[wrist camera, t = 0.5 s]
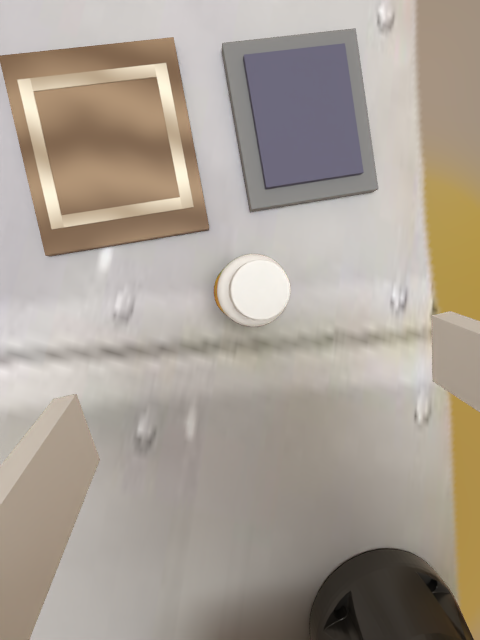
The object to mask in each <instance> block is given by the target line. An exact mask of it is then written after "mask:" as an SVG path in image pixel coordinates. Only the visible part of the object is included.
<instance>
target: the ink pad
mask: <svg viewBox="0 0 480 640" xmlns="http://www.w3.org/2000/svg"><path fill="white" fill-rule="evenodd" d="M222 56H223V61H224V67H225V73H226V78H227V84H228V90H229V95H230V101H231V107H232V112H233V118H234V124H235V129H236V135H237V141H238V146H239V152H240V158H241V163H242V169H243V175H244V180H245V186H246V192H247V198H248V203H249V209H250V212H253V211H259V210H265V209H272V208H278V207H284V206H290V205H296V204H303V203H309V202H315V201H321V200H327V199H333V198H340V197H346V196H352V195H358V194H364V193H370V192H374V191H376V190H377V189H378V183H377V176H376V169H375V162H374V155H373V148H372V141H371V134H370V127H369V120H368V113H367V106H366V98H365V91H364V84H363V77H362V70H361V63H360V56H359V49H358V42H357V35H356V28H355V29H346V30H337V31H328V32H318V33H309V34H300V35H291V36H282V37H273V38H264V39H254V40H245V41H236V42H227V43H222Z"/></svg>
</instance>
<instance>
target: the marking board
mask: <svg viewBox="0 0 480 640" xmlns="http://www.w3.org/2000/svg"><path fill="white" fill-rule="evenodd" d="M0 63H1V67H2V72H3V76H4V80H5V84H6V89H7V93H8V97H9V102H10V106H11V110H12V114H13V119H14V123H15V127H16V131H17V136H18V140H19V144H20V149H21V153H22V157H23V161H24V166H25V170H26V174H27V179H28V183H29V187H30V191H31V196H32V200H33V204H34V209H35V213H36V217H37V221H38V226H39V230H40V234H41V239H42V243H43V247H44V251H45V255H46V256H55V255H61V254H67V253H73V252H79V251H85V250H91V249H98V248H104V247H110V246H116V245H122V244H128V243H134V242H140V241H146V240H152V239H158V238H164V237H170V236H176V235H182V234H188V233H194V232H200V231H206V230H209V224H208V219H207V213H206V208H205V203H204V197H203V192H202V187H201V181H200V176H199V171H198V166H197V160H196V155H195V150H194V144H193V139H192V134H191V128H190V123H189V118H188V112H187V107H186V102H185V96H184V91H183V86H182V80H181V75H180V70H179V64H178V59H177V54H176V49H175V43H174V38H173V37H172V38H162V39H153V40H143V41H134V42H124V43H115V44H106V45H96V46H87V47H77V48H68V49H59V50H49V51H40V52H30V53H21V54H11V55H2V56H0Z"/></svg>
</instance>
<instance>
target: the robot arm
mask: <svg viewBox="0 0 480 640" xmlns="http://www.w3.org/2000/svg"><path fill="white" fill-rule="evenodd" d="M432 376H433V382H435V383H436V384H438V385H439V386H441V387H442V388H444V389H445V390H447V391H448V392H450V393H451V394H453V395H454V396H456V397H458V398H459V399H461V400H462V401H464V402H465V403H467V404H468V405H470V406H471V407H473V408H474V409H476V410H477V411H479V412H480V321H477V320H474V319H471V318H469V317H466V316H463V315H460V314H457V313H454V312H451V311H450V312H445V313H441V314H436V315H432ZM99 461H100V459H99V456H98V453H97V450H96V447H95V445H94V442H93V439H92V436H91V433H90V431H89V428H88V425H87V422H86V419H85V417H84V414H83V411H82V408H81V405H80V403H79V400H78V397H77V394H73V395H68V396H64V397H59V398H55V399H53V400H52V402H51V403H50V404H49V405H48V407H47V408H46V409H45V410H44V412H43V413H42V414H41V415H40V417H39V418H38V419H37V421H36V422H35V423H34V424H33V426H32V427H31V428H30V429H29V431H28V432H27V433H26V434H25V436H24V437H23V438H22V440H21V441H20V442H19V443H18V445H17V446H16V447H15V448H14V450H13V451H12V452H11V453H10V455H9V456H8V457H7V458H6V460H5V461H4V462H3V464H2V465H1V466H0V640H29V639H30V637H31V634H32V632H33V629H34V627H35V624H36V621H37V619H38V616H39V614H40V611H41V609H42V606H43V604H44V601H45V598H46V596H47V593H48V591H49V588H50V586H51V583H52V581H53V578H54V575H55V573H56V570H57V568H58V565H59V563H60V560H61V558H62V555H63V553H64V550H65V547H66V545H67V542H68V540H69V537H70V535H71V532H72V530H73V527H74V524H75V522H76V519H77V517H78V514H79V512H80V509H81V507H82V504H83V501H84V499H85V496H86V494H87V491H88V489H89V486H90V484H91V481H92V478H93V476H94V473H95V471H96V468H97V466H98V463H99ZM309 629H310V639H311V640H474V639H473V637H472V635H471V633H470V630H469V628H468V626H467V624H466V622H465V619H464V617H463V615H462V613H461V611H460V608H459V606H458V604H457V602H456V600H455V598H454V596H453V594H452V592H451V591H450V589H449V588H448V586H447V585H446V584H445V583H444V581H443V580H442V579H441V578H440V577H439V576H438V574H437V573H436V572H435V571H434V570H433V568H432V567H431V566H430V565H429V564H427V563H426V562H425V561H424V560H422V559H421V558H419V557H418V556H416V555H414V554H411V553H408V552H405V551H401V550H395V549H382V550H374V551H370V552H367V553H364V554H361V555H359V556H356V557H354V558H353V559H351V560H349V561H347V562H346V563H344V564H343V565H342V566H340V567H339V568H338V569H337V570H336V571H335V572H334V573H333V574H332V575H331V576H330V577H329V578H328V579H327V580H326V582H325V583H324V585H323V586H322V587H321V589H320V591H319V593H318V595H317V597H316V599H315V601H314V604H313V607H312V611H311V616H310V628H309Z"/></svg>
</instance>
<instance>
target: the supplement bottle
mask: <svg viewBox="0 0 480 640" xmlns="http://www.w3.org/2000/svg"><path fill="white" fill-rule="evenodd" d="M214 297H215V301H216V303H217V305H218V307H219V308H220V310H221V311H222V312H223V313H224V314H225V315H227V316H228V317H229V318H230V319H232V320H233V321H234V322H236V323H239V324H241V325H245V326H252V327H257V326H262V325H266V324H268V323H270V322H272V321H273V320H275V319H276V318H277V317H278V316H279V315H280V314H281V313H282V312H283V310H284V309H285V307H286V305H287V303H288V300H289V297H290V282H289V279H288V277H287V275H286V273H285V271H284V270H283V268H282V267H281V266H280V265H279V264H278V263H277V262H276V261H274V260H273V259H271V258H269V257H267V256H264V255H260V254H247V255H243V256H240V257H238V258H236V259H234V260H233V261H231V262H230V263H229V264H228V265H227V266H226V267H225V268H224V269H223V270H222V271H221V272H220V274H219V275H218V277H217V279H216V281H215V285H214Z"/></svg>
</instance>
